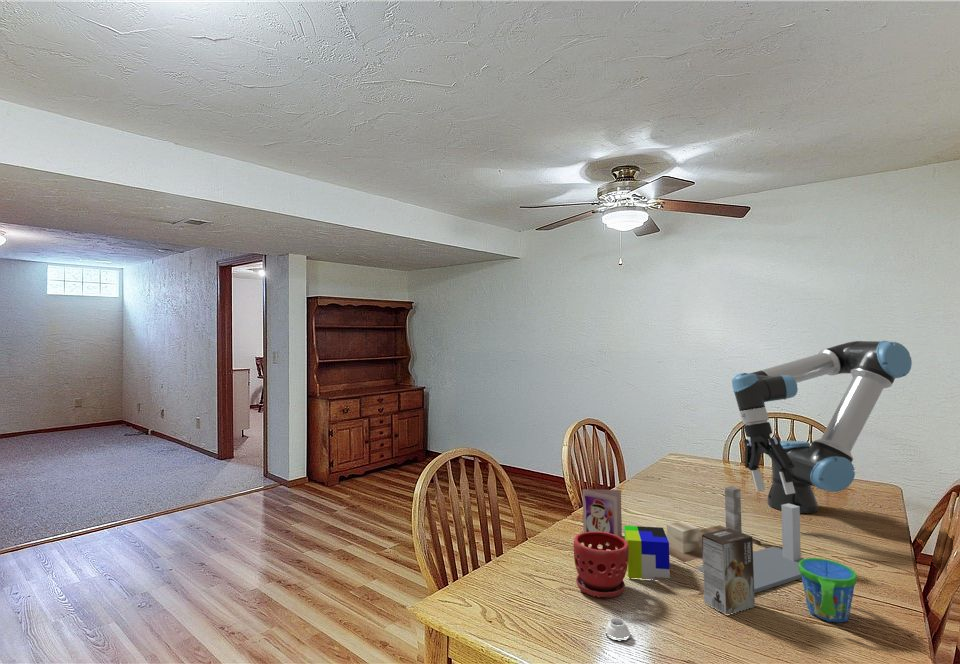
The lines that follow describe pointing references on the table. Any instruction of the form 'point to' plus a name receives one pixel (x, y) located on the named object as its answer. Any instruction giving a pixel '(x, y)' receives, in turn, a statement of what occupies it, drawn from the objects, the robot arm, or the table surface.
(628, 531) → the puzzle toy
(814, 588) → the snack cup
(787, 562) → the base plate with post
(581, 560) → the plant pot
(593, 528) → the greeting card
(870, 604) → the table surface
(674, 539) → the beech block
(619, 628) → the grey tapered hollow piece
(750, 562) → the coffee box
